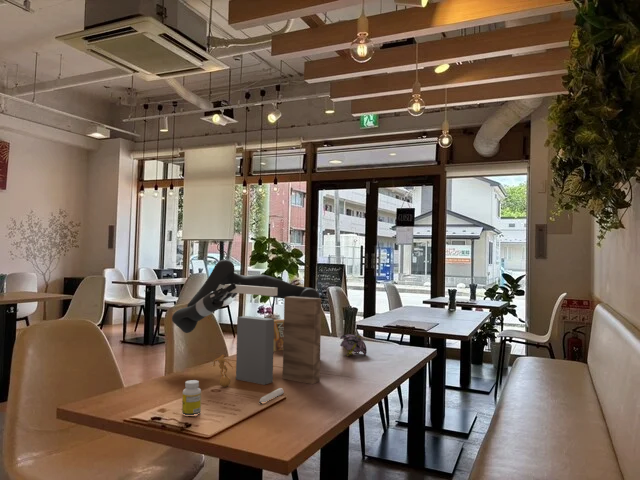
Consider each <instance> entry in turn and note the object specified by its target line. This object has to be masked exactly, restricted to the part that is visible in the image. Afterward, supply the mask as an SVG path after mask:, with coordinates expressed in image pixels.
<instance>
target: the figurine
mask: <svg viewBox="0 0 640 480" xmlns="http://www.w3.org/2000/svg"><path fill="white" fill-rule="evenodd" d="M217 361H218V364H219V365H218V367H219V369H221V370H220V375H221V377H220V378H219V385H220V386H221V387H223V388H226V387H228V386H229V385H230V384H231V378H230V377H229V376H228V375H227V374H226V373H227V371H228V368H227V366H226V364H225V363H227V364H228V365H229V366H230V368H231V369H232V370H234V367H233V366H232V364H231V363H230V361H228V360H226V359H225V354H221V355H220V356H219V357H217V358H215V359H214V360H213V367H216V364H215V363H216V362H217ZM223 371H224V372H223ZM223 373H224V374H223Z"/></svg>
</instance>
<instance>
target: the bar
mask: <svg viewBox="0 0 640 480" xmlns="http://www.w3.org/2000/svg"><path fill="white" fill-rule="evenodd" d="M229 285H231V284H225V285H224V288H225V287H228V286H229ZM235 286H236V288H235V289H234V290H232V291H231V292H230V293H238V294H241V295H242V294H247V295H258V296H265V297H270V296H277V290H278V288H275V287H261V286H247V285H235Z"/></svg>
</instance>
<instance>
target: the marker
mask: <svg viewBox="0 0 640 480" xmlns="http://www.w3.org/2000/svg"><path fill="white" fill-rule="evenodd" d="M284 392H285V391H284V389H283V388H282V387H278V388H277V389H275V390H273V391H271V392H269V393H267V394H265V395H263V396H262V397H260V399H259V402H258V403H261V402H266V401H268V400H270V399H272V398H274V397H276V398H278V397H280V396H281V395H283V394H284ZM277 396H278V397H277ZM274 399H275V398H274Z"/></svg>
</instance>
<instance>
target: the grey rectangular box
mask: <svg viewBox="0 0 640 480" xmlns="http://www.w3.org/2000/svg"><path fill="white" fill-rule="evenodd" d="M236 319H237V325H236V360H235V362H236V364H235V366H236V367H235V380H238V381H244V382H248V383H254V384H258V385H265V386H266V385H268V384H271V383H273V382H274V380H273V379H274V378H273V377H274V351H273V347H274V320H275V319H274V318H271V317H270V318H268V317H261V316H260V317H259V316H250V315H244V316H237V318H236Z"/></svg>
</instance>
